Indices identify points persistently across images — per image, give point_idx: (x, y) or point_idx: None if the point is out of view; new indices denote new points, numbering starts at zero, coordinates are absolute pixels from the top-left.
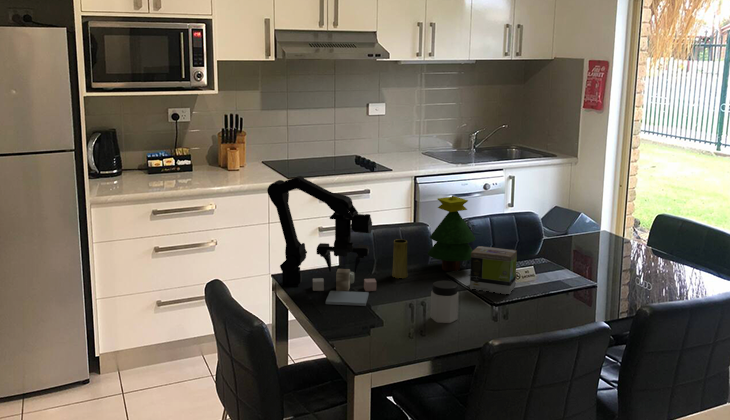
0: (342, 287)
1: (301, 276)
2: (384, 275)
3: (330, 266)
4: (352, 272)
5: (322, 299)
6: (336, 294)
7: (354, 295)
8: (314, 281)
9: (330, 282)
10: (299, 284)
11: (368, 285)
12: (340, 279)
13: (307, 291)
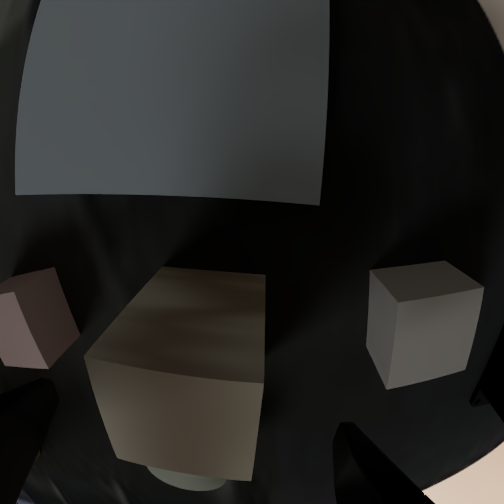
0: (206, 283)
1: (497, 400)
2: (63, 456)
3: (358, 478)
4: (163, 476)
5: (366, 57)
6: (250, 102)
7: (92, 102)
8: (470, 303)
9: (312, 419)
10: (493, 352)
11: (16, 284)
12: (212, 322)
13: (475, 244)
